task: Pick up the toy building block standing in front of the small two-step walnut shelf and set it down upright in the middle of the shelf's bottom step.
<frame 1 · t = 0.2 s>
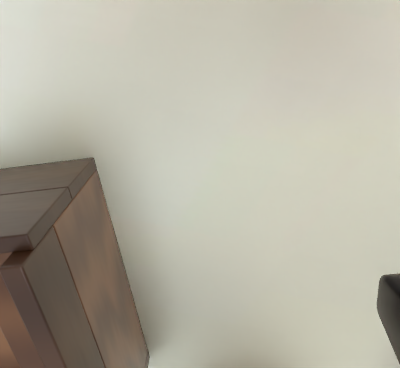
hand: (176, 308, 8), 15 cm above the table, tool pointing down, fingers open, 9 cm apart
shelf: (24, 282, 26), on the table
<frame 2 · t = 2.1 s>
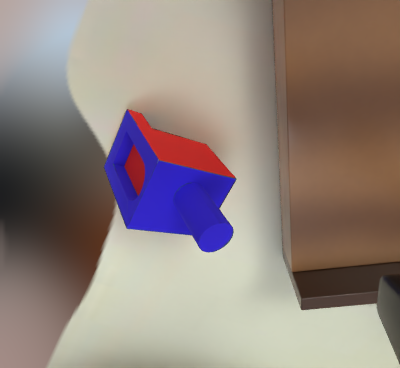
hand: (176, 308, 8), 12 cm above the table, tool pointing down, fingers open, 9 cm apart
toy building block: (170, 160, 19), on the table
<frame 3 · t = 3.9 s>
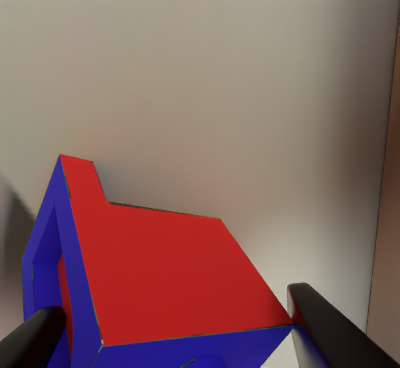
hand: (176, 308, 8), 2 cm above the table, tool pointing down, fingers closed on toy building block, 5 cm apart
toy building block: (150, 243, 10), on the table, touching gripper
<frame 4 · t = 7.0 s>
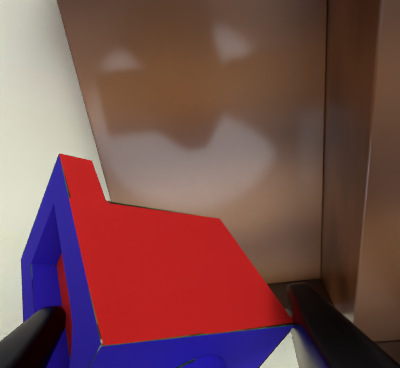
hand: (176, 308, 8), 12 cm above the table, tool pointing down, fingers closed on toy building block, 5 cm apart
toy building block: (150, 243, 10), point 10 cm above the table, touching gripper
shelf: (254, 133, 19), on the table
when the fingers open (5 cm above the table, at t = 10.1 s): toy building block stays where it is, resting on shelf.
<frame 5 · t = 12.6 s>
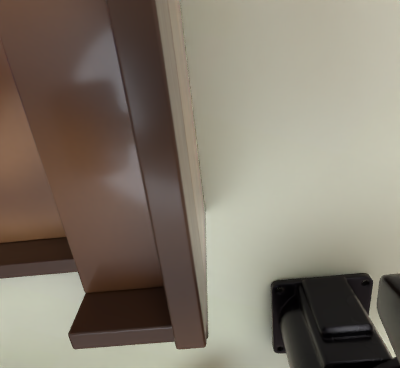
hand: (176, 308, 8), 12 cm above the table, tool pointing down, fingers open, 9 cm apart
shelf: (25, 67, 17), on the table
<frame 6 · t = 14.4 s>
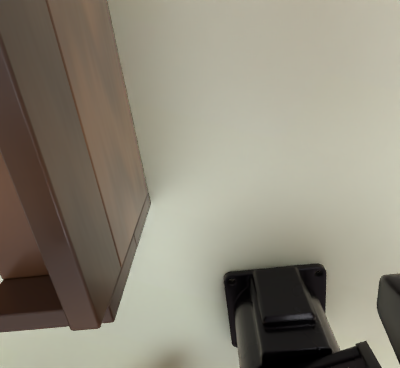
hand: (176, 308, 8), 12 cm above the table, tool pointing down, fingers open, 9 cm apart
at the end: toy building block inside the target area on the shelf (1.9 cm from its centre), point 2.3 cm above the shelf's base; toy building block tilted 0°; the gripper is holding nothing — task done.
